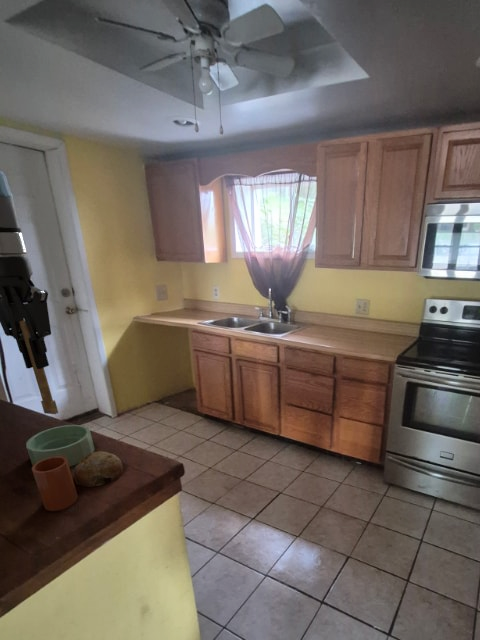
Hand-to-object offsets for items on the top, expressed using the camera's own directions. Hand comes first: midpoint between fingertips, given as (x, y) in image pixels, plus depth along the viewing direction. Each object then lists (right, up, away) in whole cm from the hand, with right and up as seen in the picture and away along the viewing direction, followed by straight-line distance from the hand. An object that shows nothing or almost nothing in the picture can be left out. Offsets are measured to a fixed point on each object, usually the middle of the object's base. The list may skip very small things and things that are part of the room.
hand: (37, 366), depth 84 cm
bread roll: (+12, -26, +3) cm, 29 cm away
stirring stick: (0, -11, +5) cm, 12 cm away
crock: (+9, -30, -6) cm, 32 cm away
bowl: (-1, -22, +11) cm, 25 cm away
